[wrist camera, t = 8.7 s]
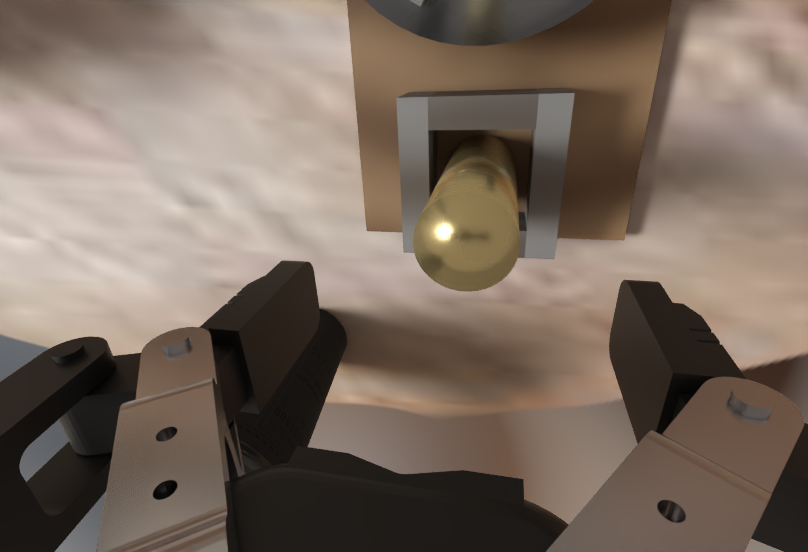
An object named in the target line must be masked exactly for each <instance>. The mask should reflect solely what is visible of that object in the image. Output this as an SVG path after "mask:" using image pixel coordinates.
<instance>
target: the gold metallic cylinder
mask: <svg viewBox="0 0 808 552" xmlns="http://www.w3.org/2000/svg"><path fill="white" fill-rule="evenodd" d="M413 247H414V252H415V256H416V258H417V261H418V263H419V265H420V266H421V268H422V269H423V270H424V272H425V273H426V274H427V275H428V276H429V277H430V278H431V279H433V280H434V281H435V282H437V283H439V284H440V285H442V286H444V287H447V288H450V289H453V290H457V291H478V290H482V289H486V288H488V287H491V286H493V285H495V284H497V283H498V282H500V281H501V280H502V279H503V278H505V277H506V276H507V275H508V274H509V272H510V271H511V270H512V268H513V267H514V265H515V263H516V261H517V258H518V255H519V250H520V232H519V215H518V198H517V181H516V164H515V158H514V155H513V152H512V150H511V149H510V147H509V146H508V145H507V144H506V143H505V142H504V141H503V140H501V139H500V138H498V137H495V136H492V135H487V134H481V135H475V136H472V137H469V138H467V139H466V140H464V141H463V142H462V143H461V144H459V146H458V147H457V148H456V149H455V151H454V153H453V155H452V156H451V158H450V160H449V162H448V164H447V166H446V168H445V170H444V172H443V174H442V176H441V177H440V179H439V181H438V183H437V185H436V187H435V189H434V191H433V193H432V195H431V197H430V198H429V200H428V202H427V204H426V206H425V208H424V210H423V212H422V214H421V216H420V218H419V220H418V222H417V224H416V226H415V230H414V235H413Z"/></svg>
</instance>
